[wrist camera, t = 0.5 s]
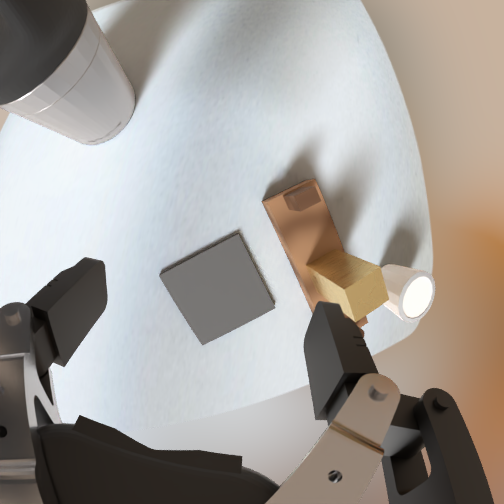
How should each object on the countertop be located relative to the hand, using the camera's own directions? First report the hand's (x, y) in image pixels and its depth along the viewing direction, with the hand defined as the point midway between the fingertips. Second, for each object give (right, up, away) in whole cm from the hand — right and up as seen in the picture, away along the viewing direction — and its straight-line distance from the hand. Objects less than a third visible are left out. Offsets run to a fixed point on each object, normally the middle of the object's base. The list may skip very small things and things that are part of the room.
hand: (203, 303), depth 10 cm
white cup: (+21, -3, +27) cm, 35 cm away
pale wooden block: (+10, 0, +22) cm, 24 cm away
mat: (-2, -3, +23) cm, 23 cm away
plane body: (+10, 0, +24) cm, 26 cm away
